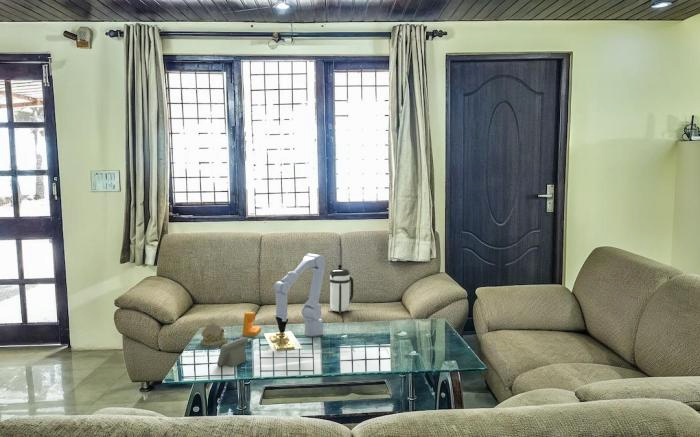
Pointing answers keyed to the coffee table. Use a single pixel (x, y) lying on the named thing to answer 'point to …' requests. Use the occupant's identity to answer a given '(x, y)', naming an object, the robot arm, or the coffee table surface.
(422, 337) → the coffee table surface
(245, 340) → the digital clock
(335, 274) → the coffee press
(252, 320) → the bracket
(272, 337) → the loose leaf
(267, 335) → the board
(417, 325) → the coffee table surface
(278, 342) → the fixed leaf
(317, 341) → the coffee table surface
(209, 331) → the ceramic model
